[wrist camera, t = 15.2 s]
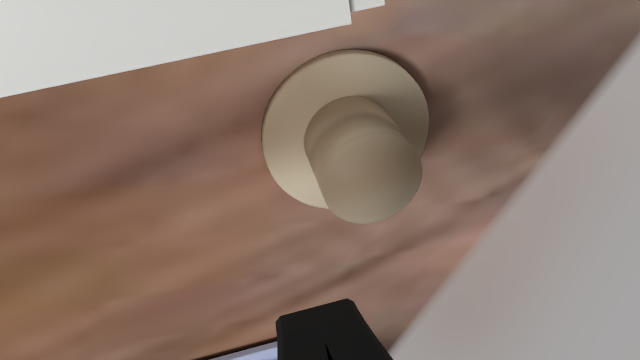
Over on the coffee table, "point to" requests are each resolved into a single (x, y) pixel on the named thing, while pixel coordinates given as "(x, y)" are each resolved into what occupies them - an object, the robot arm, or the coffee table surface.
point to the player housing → (139, 34)
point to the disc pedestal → (348, 135)
